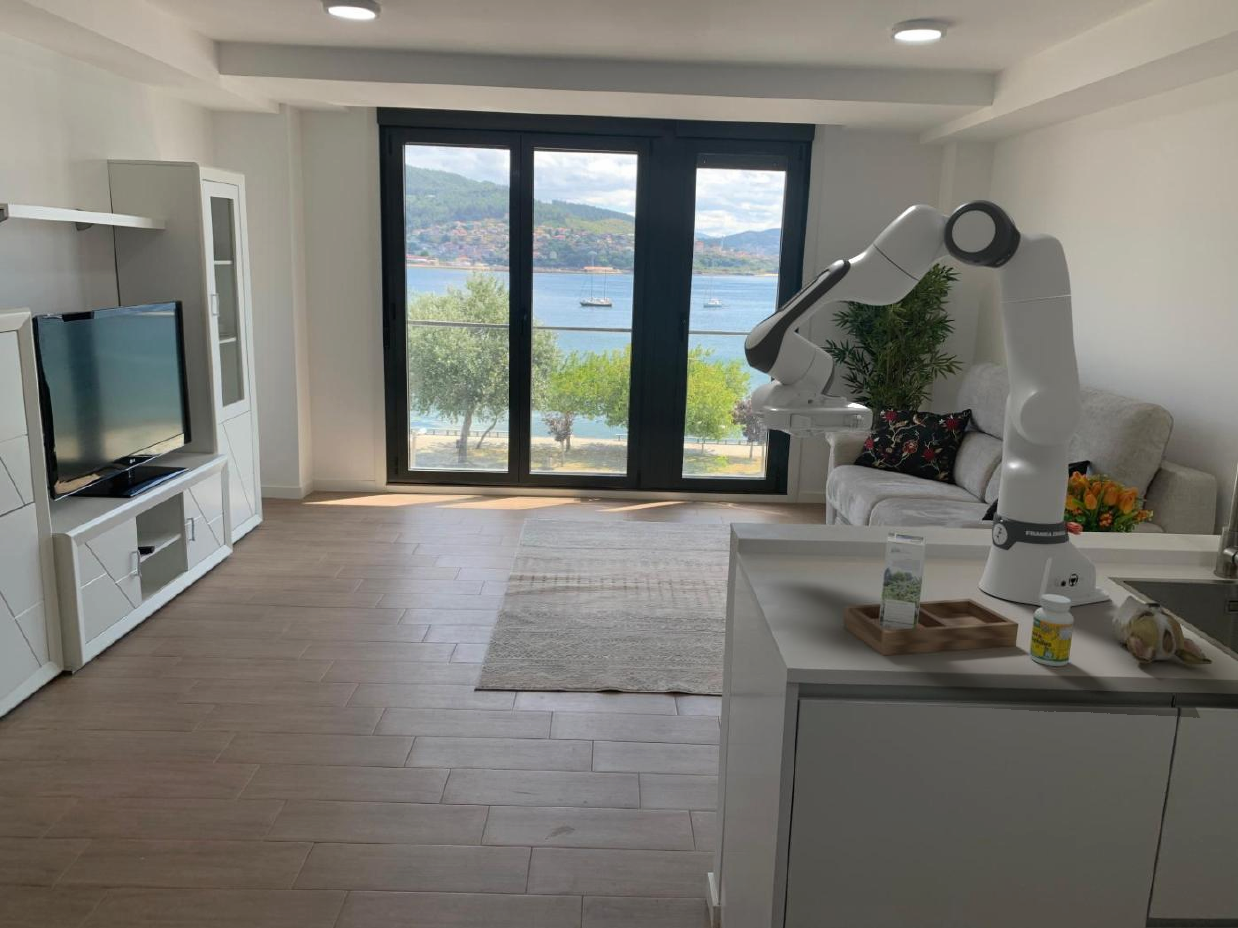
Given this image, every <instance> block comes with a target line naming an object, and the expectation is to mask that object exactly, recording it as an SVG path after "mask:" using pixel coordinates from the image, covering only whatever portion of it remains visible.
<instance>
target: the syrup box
mask: <svg viewBox="0 0 1238 928" xmlns="http://www.w3.org/2000/svg"><path fill="white" fill-rule="evenodd" d="M886 539H887V540H886V547H885V556H884V557H885V558H884V566H883V567H884V568H883V578H882V588H881V598H880V604H881V607H880V617H879V624H880V625H881V626H883V627H884V628H886V629H887V630H898V629H913V628H917V624H918V615H919V606H920V602H921V597H922V596H921V594H922V586H923V576H924V568H925V567H924V566H925V561H926V560H925V559H926V550H927V549H926V547H927V537H926V536H924V535H915V534H907V533H906V534H905V533H897V532H896V533H895V532H888V535H887V537H886Z"/></svg>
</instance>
